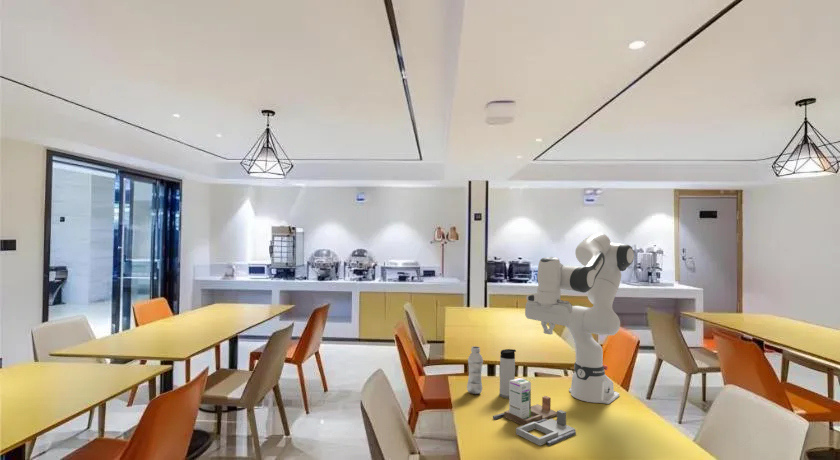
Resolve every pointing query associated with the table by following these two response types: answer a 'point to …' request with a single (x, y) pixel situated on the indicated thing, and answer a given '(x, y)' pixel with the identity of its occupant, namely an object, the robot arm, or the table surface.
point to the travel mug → (506, 370)
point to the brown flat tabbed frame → (534, 413)
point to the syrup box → (520, 398)
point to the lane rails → (549, 440)
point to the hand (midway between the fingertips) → (548, 333)
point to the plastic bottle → (475, 371)
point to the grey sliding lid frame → (546, 429)
